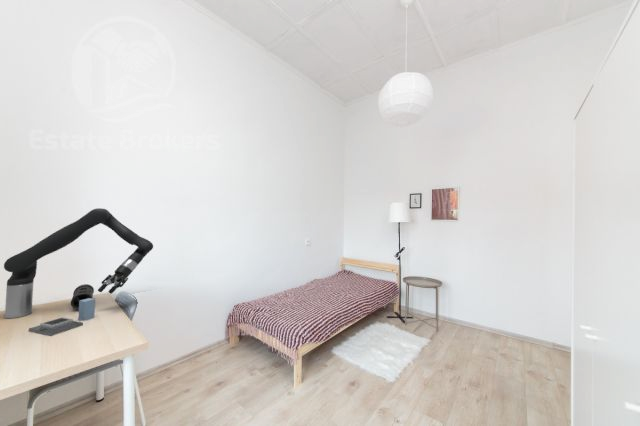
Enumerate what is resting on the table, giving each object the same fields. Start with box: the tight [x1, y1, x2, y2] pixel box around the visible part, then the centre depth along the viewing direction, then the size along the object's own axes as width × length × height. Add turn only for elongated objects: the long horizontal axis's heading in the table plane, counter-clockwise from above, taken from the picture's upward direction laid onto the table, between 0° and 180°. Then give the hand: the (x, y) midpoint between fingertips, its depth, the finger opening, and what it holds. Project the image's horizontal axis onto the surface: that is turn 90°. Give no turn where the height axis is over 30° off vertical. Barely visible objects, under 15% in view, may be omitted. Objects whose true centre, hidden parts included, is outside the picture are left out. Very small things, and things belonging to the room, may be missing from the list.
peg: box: [77, 298, 96, 322], centre depth 128 cm, size 4×4×10 cm
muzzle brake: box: [70, 284, 95, 310], centre depth 149 cm, size 10×28×10 cm, turn 43°
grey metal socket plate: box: [28, 316, 84, 337], centre depth 117 cm, size 16×12×3 cm
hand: (104, 292), depth 136 cm, fingers open, 8 cm apart
